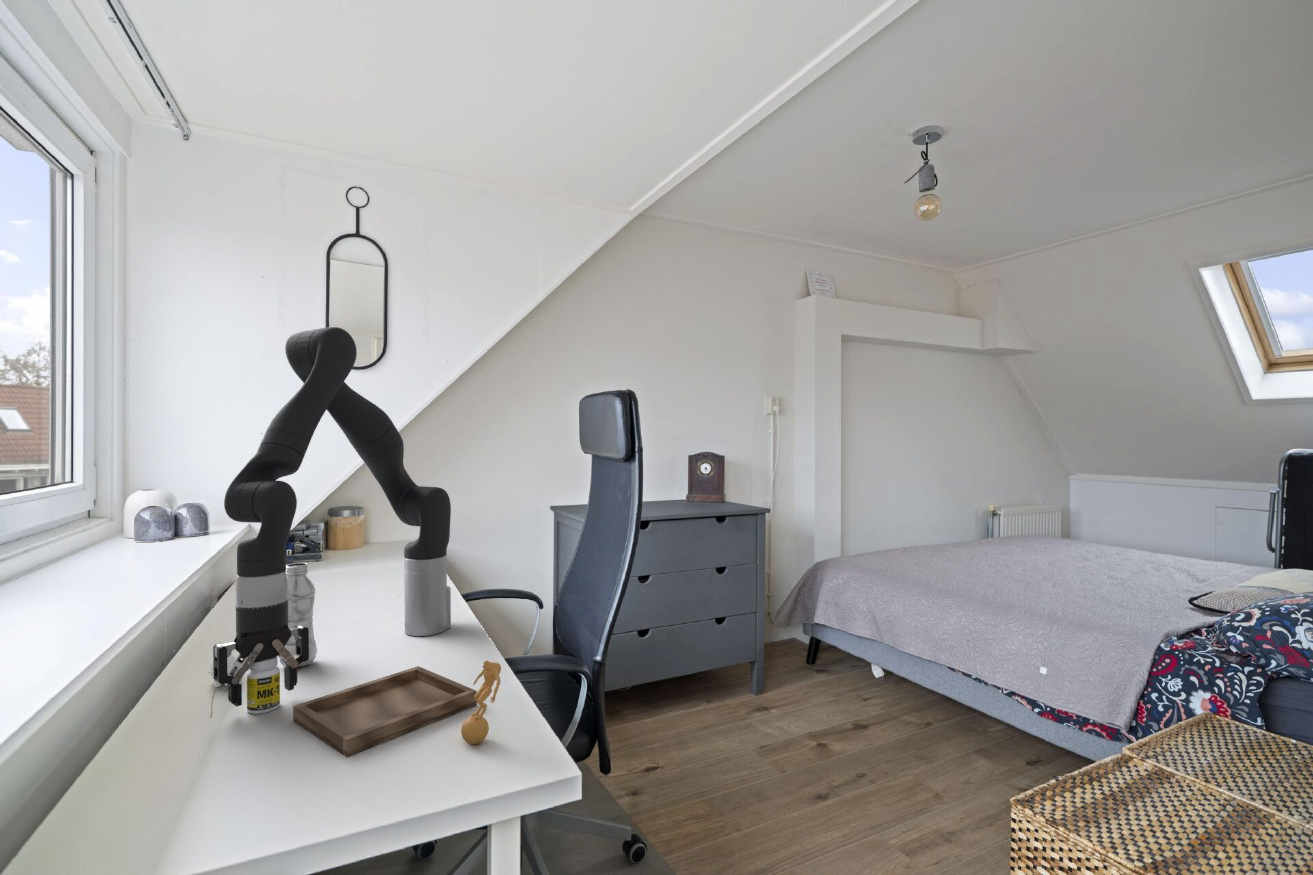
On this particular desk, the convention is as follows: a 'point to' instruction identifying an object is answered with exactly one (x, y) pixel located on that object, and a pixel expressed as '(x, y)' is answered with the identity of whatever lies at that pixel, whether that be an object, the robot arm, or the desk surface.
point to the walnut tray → (382, 709)
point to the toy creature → (229, 666)
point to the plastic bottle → (300, 607)
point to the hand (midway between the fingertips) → (263, 696)
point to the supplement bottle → (263, 686)
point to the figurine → (481, 705)
